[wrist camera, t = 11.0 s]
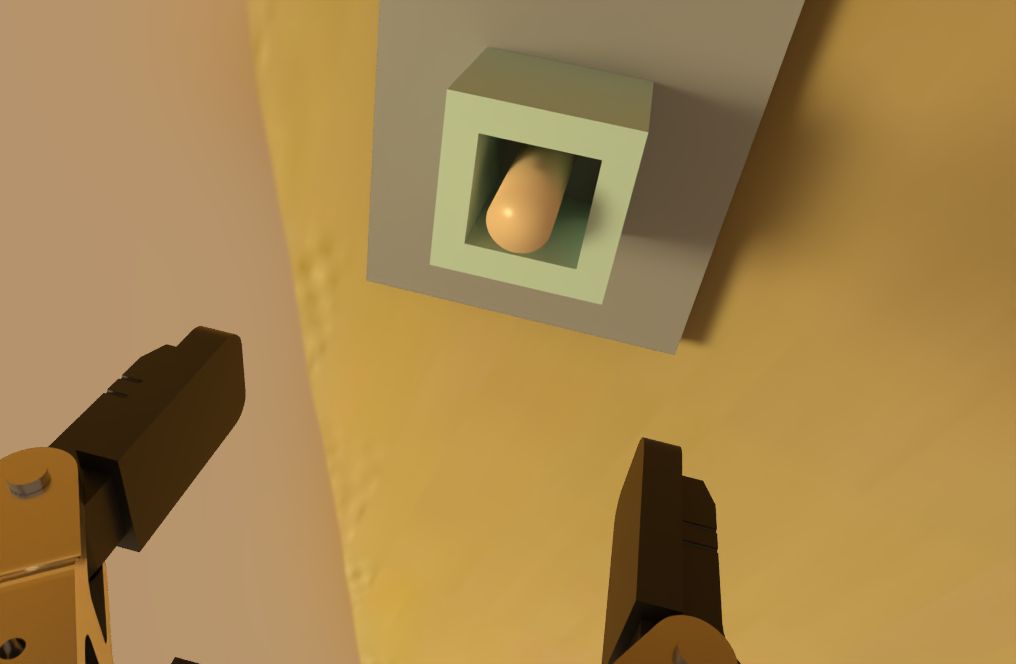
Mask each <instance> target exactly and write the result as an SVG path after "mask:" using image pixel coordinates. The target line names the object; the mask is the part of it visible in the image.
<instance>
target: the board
mask: <svg viewBox="0 0 1016 664" xmlns="http://www.w3.org/2000/svg"><path fill="white" fill-rule="evenodd" d="M804 1H805V0H380V3H379V24H378V45H377V66H376V87H375V108H374V129H373V150H372V171H371V192H370V213H369V234H368V256H367V277H366V280H367V281H371V282H375V283H379V284H383V285H387V286H391V287H396V288H400V289H404V290H408V291H412V292H416V293H420V294H425V295H429V296H433V297H437V298H441V299H445V300H449V301H453V302H458V303H462V304H466V305H470V306H474V307H478V308H482V309H486V310H491V311H495V312H499V313H503V314H507V315H511V316H515V317H519V318H524V319H528V320H532V321H536V322H540V323H544V324H548V325H553V326H557V327H561V328H565V329H569V330H573V331H577V332H581V333H586V334H590V335H594V336H598V337H602V338H606V339H610V340H614V341H619V342H623V343H627V344H631V345H635V346H639V347H643V348H647V349H652V350H656V351H660V352H664V353H668V354H672V355H675V353H676V350H677V347H678V345H679V342H680V339H681V336H682V334H683V331H684V328H685V326H686V323H687V320H688V317H689V315H690V312H691V309H692V306H693V304H694V301H695V298H696V296H697V293H698V290H699V287H700V285H701V282H702V279H703V276H704V274H705V271H706V268H707V266H708V263H709V260H710V257H711V255H712V252H713V249H714V247H715V244H716V241H717V238H718V236H719V233H720V230H721V227H722V225H723V222H724V219H725V217H726V214H727V211H728V208H729V206H730V203H731V200H732V198H733V195H734V192H735V189H736V187H737V184H738V181H739V178H740V176H741V173H742V170H743V168H744V165H745V162H746V159H747V157H748V154H749V151H750V148H751V146H752V143H753V140H754V138H755V135H756V132H757V129H758V127H759V124H760V121H761V119H762V116H763V113H764V110H765V108H766V105H767V102H768V99H769V97H770V94H771V91H772V89H773V86H774V83H775V80H776V78H777V75H778V72H779V70H780V67H781V64H782V61H783V59H784V56H785V53H786V50H787V48H788V45H789V42H790V40H791V37H792V34H793V31H794V29H795V26H796V23H797V20H798V18H799V15H800V12H801V10H802V7H803V4H804ZM487 47H491V48H496V49H500V50H505V51H510V52H515V53H519V54H524V55H529V56H534V57H539V58H543V59H548V60H553V61H558V62H563V63H567V64H572V65H577V66H582V67H587V68H591V69H596V70H601V71H606V72H611V73H615V74H620V75H625V76H630V77H634V78H639V79H644V80H649V81H654V84H653V93H652V103H651V113H650V122H649V132H648V136H647V139H646V143H645V147H644V151H643V154H642V158H641V162H640V165H639V169H638V173H637V176H636V180H635V184H634V188H633V191H632V195H631V199H630V202H629V206H628V210H627V213H626V217H625V221H624V225H623V228H622V232H621V236H620V239H619V243H618V247H617V250H616V254H615V258H614V262H613V265H612V269H611V273H610V276H609V280H608V284H607V288H606V291H605V295H604V299H603V302H602V305H600V304H596V303H592V302H588V301H583V300H579V299H575V298H570V297H566V296H562V295H558V294H553V293H549V292H545V291H540V290H536V289H532V288H528V287H523V286H519V285H515V284H510V283H506V282H502V281H498V280H493V279H489V278H485V277H480V276H476V275H472V274H468V273H463V272H459V271H455V270H450V269H446V268H442V267H438V266H433V265H430V256H431V246H432V236H433V226H434V215H435V205H436V195H437V185H438V175H439V165H440V155H441V145H442V135H443V124H444V114H445V104H446V94H447V89H448V88H449V87H450V86H451V84H452V83H453V82H454V81H455V80H456V79H457V78H458V77H459V76H460V75H461V74H462V73H463V72H464V71H465V70H466V69H467V68H468V67H469V66H470V65H471V64H472V63H473V61H474V60H475V59H476V58H477V57H478V56H479V55H480V54H481V53H482V52H483V51H484V50H485V49H486V48H487ZM601 164H602V160H599V159H594V158H590V157H585V156H581V155H576V154H571V153H567V152H562V151H558V150H553V149H549V148H544V147H539V146H535V145H530V144H526V143H521V142H516V141H512V140H507V139H504V146H503V153H502V159H501V166H500V172H499V179H498V181H501V182H502V184H501V186H500V188H499V190H498V192H497V193H496V195H495V197H494V199H493V201H492V203H491V205H490V207H489V209H488V211H487V215H486V225H487V229H488V232H489V234H490V236H491V237H492V239H493V240H494V241H495V242H496V243H497V244H498V245H499V246H501V247H502V248H504V249H505V250H508V251H510V252H514V253H530V252H533V251H536V250H538V249H539V248H541V247H542V246H543V245H544V244H545V243H546V242H547V241H548V239H549V237H550V235H551V232H552V229H553V226H554V223H555V220H556V217H557V214H558V211H559V208H560V205H561V202H562V199H563V196H568V197H573V198H577V199H582V200H586V201H590V202H593V197H594V193H595V189H596V185H597V181H598V176H599V172H600V168H601Z"/></svg>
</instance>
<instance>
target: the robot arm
mask: <svg viewBox="0 0 1016 664" xmlns="http://www.w3.org/2000/svg"><path fill="white" fill-rule="evenodd" d="M244 402H245V380H244V368H243V355H242V343H241V339H240V337H239V336H238V335H235V334H231V333H227V332H223V331H219V330H215V329H211V328H207V327H203V326H199V327H196V328H195V329H193V330H192V331H191V332H190V333H189V335H187V336H186V337H185V338H184V339H183V341H182V342H181V343H180V344H179V345H178V346H177V347H175V346H171V345H164V346H162V347H160V348H158V349H156V350H154V351H152V352H150V353H148V354H146V355H144V356H142V357H140V358H139V359H138V360H137V361H136V362H135V363H134V364H133V365H132V366H131V367H130V368H129V369H128V370H127V371H126V372H125V373H124V374H123V375H122V378H121V379H118V380H117V381H116V382H115V383H114V384H112V385H111V386H110V387H109V388H108V390H107V393H103V394H102V395H101V396H100V397H99V398H98V399H97V400H96V401H95V402H94V403H93V404H92V405H91V406H90V407H89V408H88V409H87V410H86V411H85V412H84V413H83V414H82V415H81V416H80V417H79V418H77V419H76V421H74V423H72V424H71V425H70V426H69V427H68V428H67V429H66V430H65V431H64V432H63V433H62V434H61V435H60V436H59V437H58V438H57V439H56V440H55V441H54V442H53V443H52V444H51V445H50V446H49V447H39V448H38V447H37V448H30V449H26V450H22V451H18V452H15V453H13V454H10V455H8V456H6V457H4V458H2V459H1V460H0V664H113V656H112V642H111V628H110V613H109V597H108V582H107V569H106V564H105V560H106V559H107V557H108V556H109V555H110V553H111V552H112V551H113V549H115V547H116V546H118V547H122V548H126V549H129V550H133V551H137V552H140V551H141V550H142V548H143V547H144V546H145V544H146V543H147V541H148V540H149V539H150V538H151V536H152V535H153V534H154V532H155V531H156V530H157V528H158V527H159V526H160V524H161V523H162V522H163V520H164V519H165V518H166V516H167V515H168V514H169V512H170V511H171V510H172V508H173V507H174V506H175V504H176V503H177V502H178V500H179V499H180V498H181V496H182V495H183V494H184V492H185V491H186V490H187V488H188V487H189V486H190V484H191V483H192V482H193V480H194V479H195V478H196V476H197V475H198V474H199V472H200V471H201V470H202V468H203V467H204V466H205V464H206V463H207V462H208V460H209V459H210V458H211V456H212V455H213V454H214V452H215V451H216V450H217V448H218V447H219V446H220V444H221V443H222V442H223V440H224V439H225V438H226V436H227V435H228V434H229V432H230V431H231V430H232V428H233V427H234V426H235V424H236V423H237V421H238V419H239V417H240V415H241V413H242V410H243V407H244ZM716 529H717V525H716V507H715V503H714V501H713V499H712V497H711V495H710V493H709V491H708V490H707V488H706V486H705V484H704V482H703V481H702V480H698V479H694V478H690V477H686V476H682V449H681V447H680V446H676V445H672V444H668V443H664V442H660V441H656V440H652V439H648V438H644V437H642V438H641V440H640V442H639V444H638V447H637V450H636V452H635V455H634V458H633V460H632V463H631V466H630V469H629V471H628V474H627V477H626V479H625V482H624V485H623V488H622V490H621V494H620V497H619V501H618V505H617V510H616V515H615V523H614V533H613V544H612V555H611V566H610V578H609V589H608V600H607V611H606V622H605V633H604V644H603V655H602V664H740V662H739V661H738V660H737V658H736V656H735V653H734V651H733V649H732V647H731V645H730V644H729V642H728V641H727V640H726V638H725V635H724V632H723V625H722V610H721V593H720V576H719V559H718V553H717V549H718V542H717V533H716ZM171 664H198V663H195V662H191V661H188V660H184V659H180V658H177V657H175V658H174V660H173V662H172V663H171Z"/></svg>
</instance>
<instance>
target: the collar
mask: <svg viewBox="0 0 1016 664" xmlns="http://www.w3.org/2000/svg"><path fill="white" fill-rule="evenodd" d="M653 84H654V81H649V80H644V79H639V78H634V77H630V76H625V75H620V74H615V73H611V72H606V71H601V70H596V69H591V68H587V67H582V66H577V65H572V64H567V63H563V62H558V61H553V60H548V59H543V58H539V57H534V56H529V55H524V54H519V53H515V52H510V51H505V50H500V49H496V48H491V47H487V48H486V49H485V50H484V51H483V52H482V53H481V54H480V55H479V56H478V57H477V58H476V59H475V60H474V61H473V63H472V64H471V65H470V66H469V67H468V68H467V69H466V70H465V71H464V72H463V73H462V74H461V75H460V76H459V77H458V78H457V79H456V80H455V81H454V82H453V83H452V84H451V86H450V87H449V88H448V89H447V94H446V104H445V114H444V124H443V135H442V145H441V155H440V165H439V175H438V185H437V195H436V205H435V215H434V226H433V236H432V246H431V256H430V265H433V266H438V267H442V268H446V269H450V270H455V271H459V272H463V273H468V274H472V275H476V276H480V277H485V278H489V279H493V280H498V281H502V282H506V283H510V284H515V285H519V286H523V287H528V288H532V289H536V290H540V291H545V292H549V293H553V294H558V295H562V296H566V297H570V298H575V299H579V300H583V301H588V302H592V303H596V304H600V305H602V302H603V299H604V295H605V291H606V288H607V284H608V280H609V276H610V273H611V269H612V265H613V262H614V258H615V254H616V250H617V247H618V243H619V239H620V236H621V232H622V228H623V225H624V221H625V217H626V213H627V210H628V206H629V202H630V199H631V195H632V191H633V188H634V184H635V180H636V176H637V173H638V169H639V165H640V162H641V158H642V154H643V151H644V147H645V143H646V139H647V136H648V132H649V122H650V113H651V103H652V93H653ZM504 139H507V140H512V141H516V142H521V143H526V144H530V145H535V146H539V147H544V148H549V149H553V150H558V151H562V152H567V153H571V154H576V155H581V156H585V157H590V158H594V159H599V160H602V164H601V168H600V172H599V176H598V181H597V185H596V189H595V193H594V197H593V202H590V201H586V200H582V199H577V198H573V197H568V196H563V199H562V202H561V205H560V208H559V211H558V214H557V217H556V220H555V223H554V226H553V229H552V232H551V235H550V237H549V239H548V241H547V242H546V243H545V244H544V245H543V246H542V247H541V248H539V249H538V250H536V251H533V252H530V253H514V252H510V251H508V250H505V249H504V248H502V247H501V246H499V245H498V244H497V243H496V242H495V241H494V240H493V239H492V237H491V236H490V234H489V232H488V229H487V225H486V215H487V211H488V209H489V207H490V205H491V203H492V201H493V199H494V197H495V195H496V193H497V192H498V190H499V188H500V186H501V184H502V182H501V181H498V179H499V172H500V166H501V159H502V153H503V146H504Z"/></svg>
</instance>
